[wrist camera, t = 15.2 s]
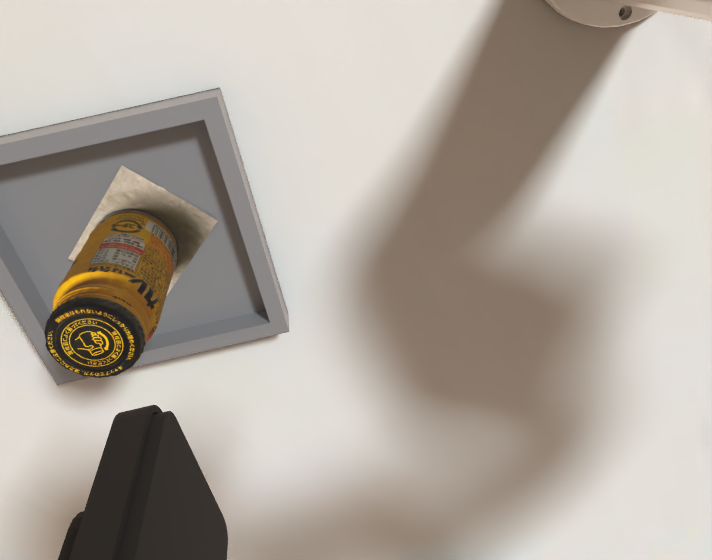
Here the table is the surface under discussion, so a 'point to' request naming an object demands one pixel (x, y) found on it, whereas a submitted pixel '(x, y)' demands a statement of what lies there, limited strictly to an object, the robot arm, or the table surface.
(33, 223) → the tray
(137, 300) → the condiment
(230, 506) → the table surface
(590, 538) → the table surface
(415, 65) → the table surface
